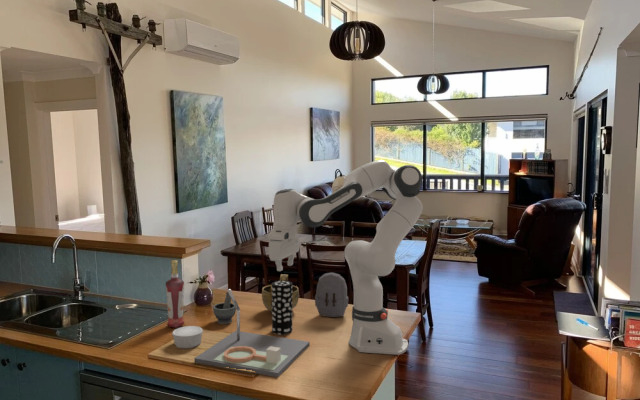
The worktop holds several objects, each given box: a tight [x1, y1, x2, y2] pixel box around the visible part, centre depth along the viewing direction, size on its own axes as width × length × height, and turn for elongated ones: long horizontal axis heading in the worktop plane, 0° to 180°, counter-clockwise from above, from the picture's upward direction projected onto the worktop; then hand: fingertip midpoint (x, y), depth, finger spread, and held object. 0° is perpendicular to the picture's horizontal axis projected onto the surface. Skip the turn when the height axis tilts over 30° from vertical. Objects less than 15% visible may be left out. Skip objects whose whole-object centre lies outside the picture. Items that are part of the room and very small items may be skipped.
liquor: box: [165, 259, 185, 329], centre depth 202 cm, size 7×7×28 cm
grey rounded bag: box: [314, 272, 349, 318], centre depth 215 cm, size 15×8×20 cm, turn 81°
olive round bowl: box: [261, 273, 300, 313], centre depth 222 cm, size 22×17×15 cm
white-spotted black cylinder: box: [271, 280, 293, 336], centre depth 197 cm, size 8×8×20 cm
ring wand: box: [224, 346, 281, 364], centre depth 168 cm, size 20×11×4 cm, turn 70°
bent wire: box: [227, 288, 241, 341], centre depth 181 cm, size 1×8×22 cm, turn 159°
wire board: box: [194, 330, 311, 378], centre depth 176 cm, size 32×28×2 cm
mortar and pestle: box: [212, 291, 237, 325], centre depth 209 cm, size 11×9×12 cm
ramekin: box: [172, 325, 204, 349], centre depth 184 cm, size 11×11×5 cm
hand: (285, 267), depth 184 cm, fingers open, 8 cm apart
